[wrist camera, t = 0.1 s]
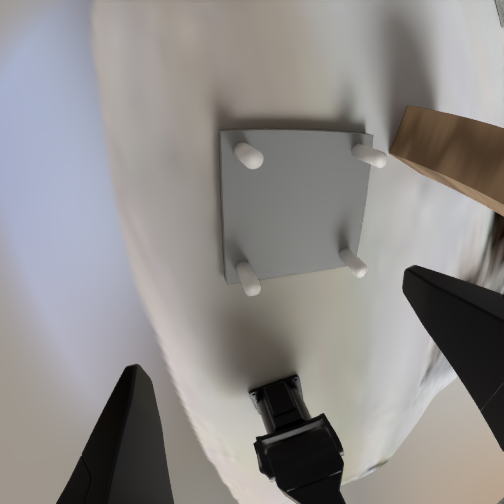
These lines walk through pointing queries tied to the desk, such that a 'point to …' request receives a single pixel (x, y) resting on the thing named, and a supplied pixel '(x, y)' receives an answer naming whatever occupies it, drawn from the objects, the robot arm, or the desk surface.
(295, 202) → the peg plate
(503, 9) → the ink box
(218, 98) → the desk surface
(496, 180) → the walnut block
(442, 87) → the desk surface
